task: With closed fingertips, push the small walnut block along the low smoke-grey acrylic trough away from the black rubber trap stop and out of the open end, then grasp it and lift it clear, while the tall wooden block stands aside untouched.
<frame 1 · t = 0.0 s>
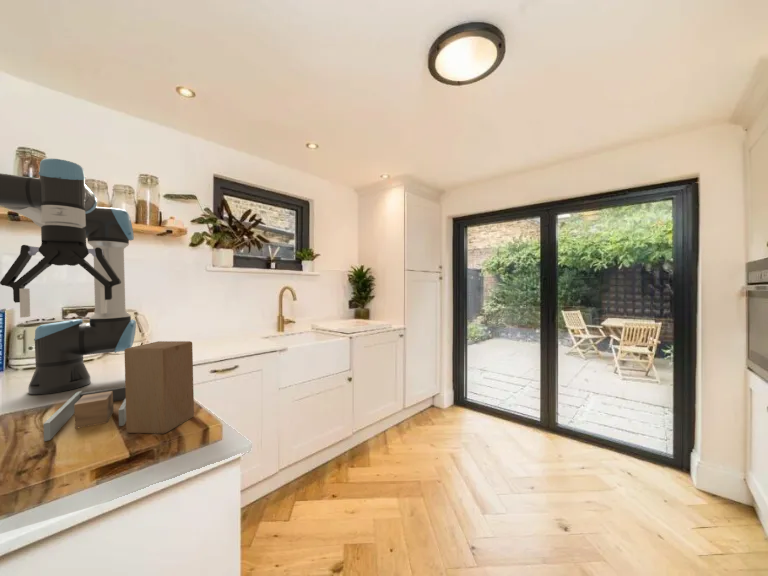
hand: (66, 315, 75), 28 cm above the countertop, fingers open, 13 cm apart
trough: (98, 414, 85), on the countertop
wooden block: (162, 425, 78), on the countertop
walnut block: (95, 420, 81), on the countertop
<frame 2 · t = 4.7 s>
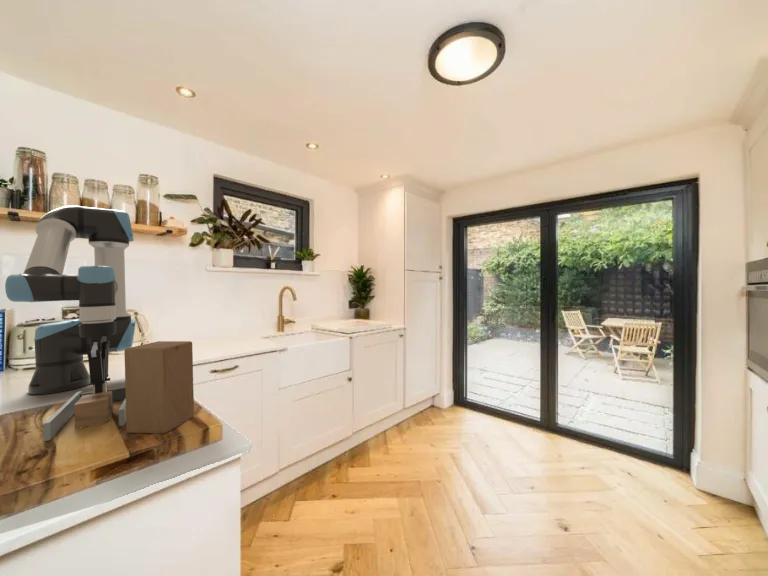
hand: (100, 406, 86), 2 cm above the countertop, fingers closed
walnut block: (95, 420, 81), on the countertop, touching gripper
everything else where it was.
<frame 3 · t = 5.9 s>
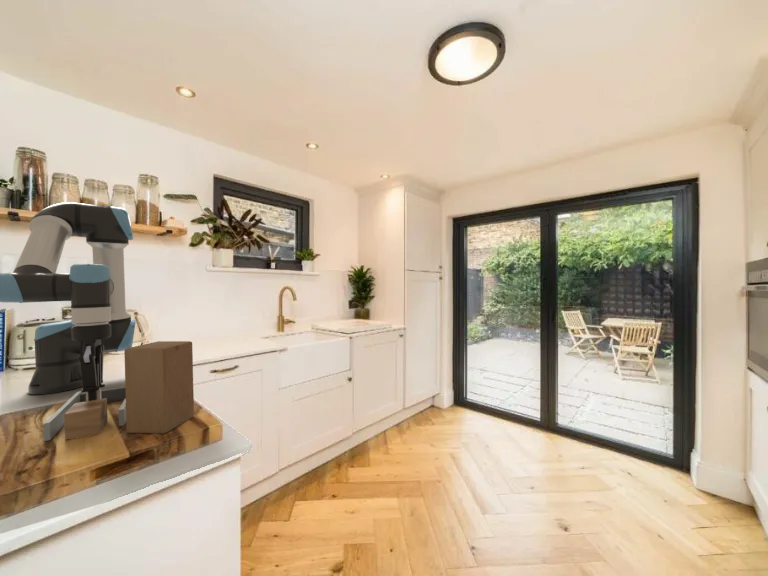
hand: (94, 414, 81), 2 cm above the countertop, fingers closed
walnut block: (87, 430, 75), on the countertop, touching gripper
everything else where it was.
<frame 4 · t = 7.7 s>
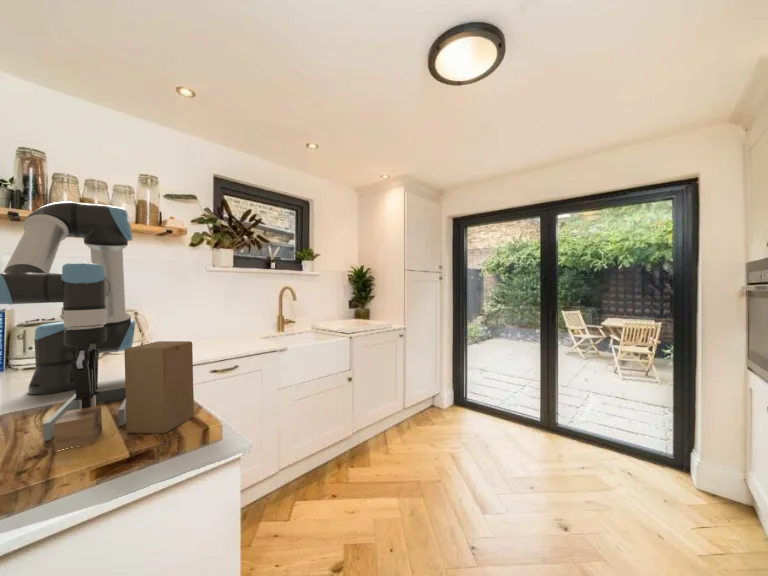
hand: (88, 423, 76), 1 cm above the countertop, fingers closed
walnut block: (80, 440, 70), on the countertop, touching gripper
everything else where it was.
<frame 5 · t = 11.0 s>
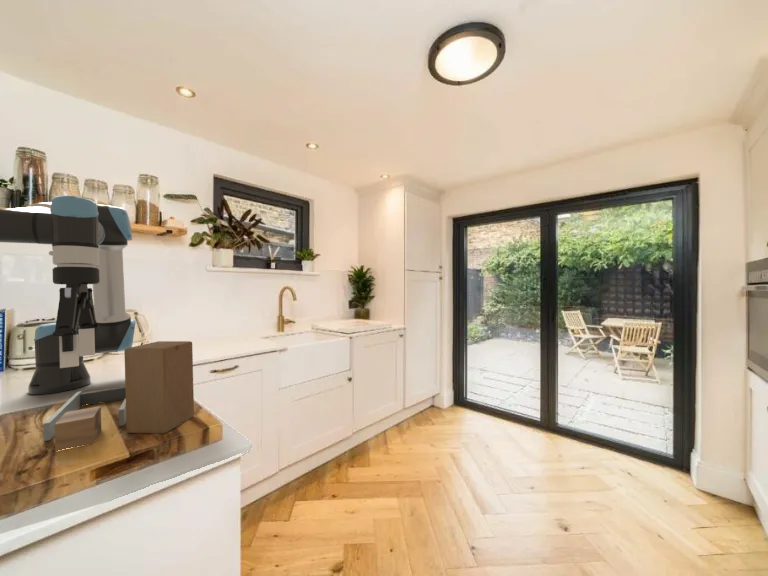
hand: (79, 360, 70), 18 cm above the countertop, fingers open, 13 cm apart
walnut block: (80, 441, 70), on the countertop
everything else where it was.
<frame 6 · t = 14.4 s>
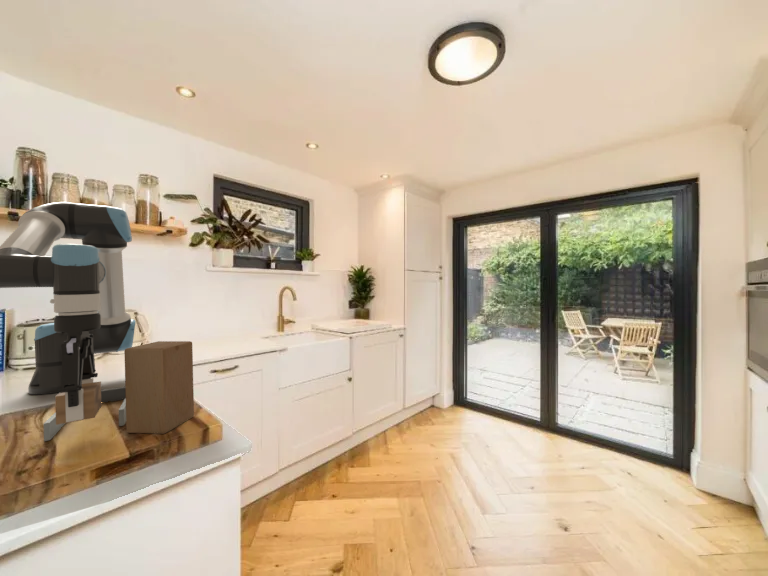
hand: (81, 412, 71), 6 cm above the countertop, fingers closed on walnut block, 8 cm apart
walnut block: (80, 414, 71), point 6 cm above the countertop, touching gripper
everything else where it was.
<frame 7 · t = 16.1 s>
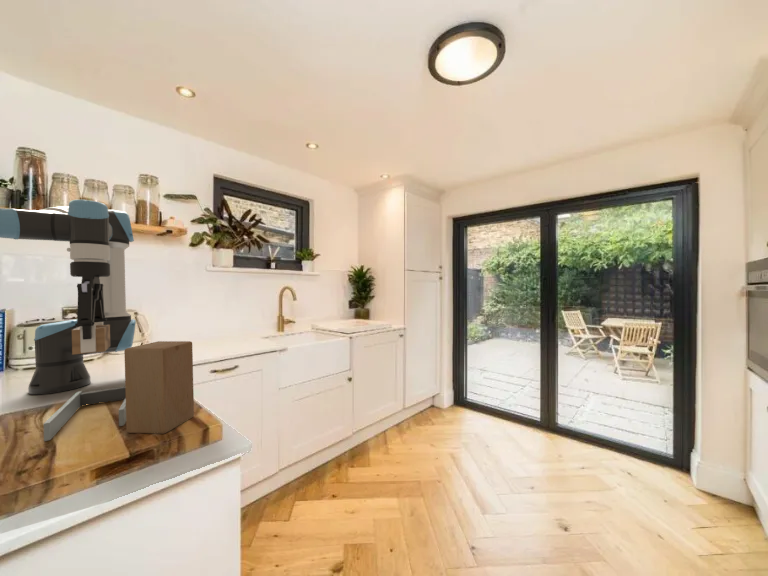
hand: (93, 348, 81), 19 cm above the countertop, fingers closed on walnut block, 8 cm apart
walnut block: (92, 350, 81), point 18 cm above the countertop, touching gripper
everything else where it was.
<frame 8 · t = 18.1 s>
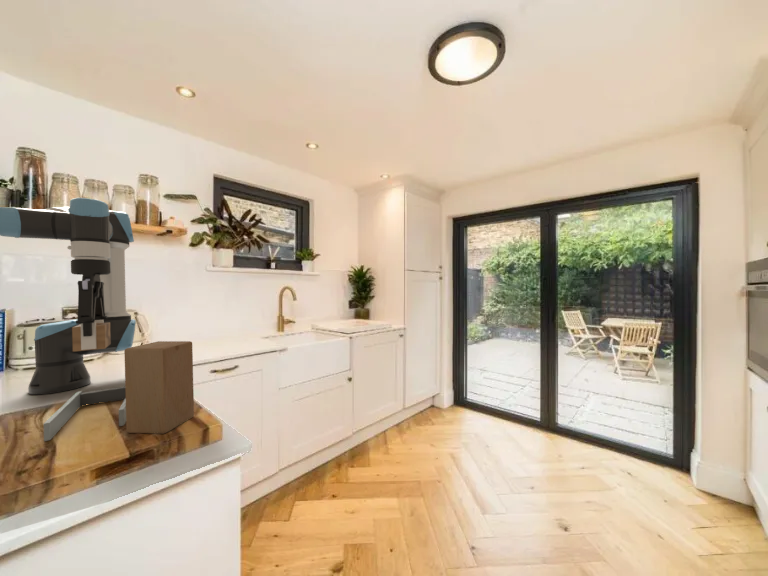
hand: (93, 346, 81), 19 cm above the countertop, fingers closed on walnut block, 8 cm apart
walnut block: (92, 347, 81), point 19 cm above the countertop, touching gripper
everything else where it was.
at the end: the gripper is holding walnut block; walnut block point 18.9 cm above the countertop; walnut block moved 18.9 cm from its start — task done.
